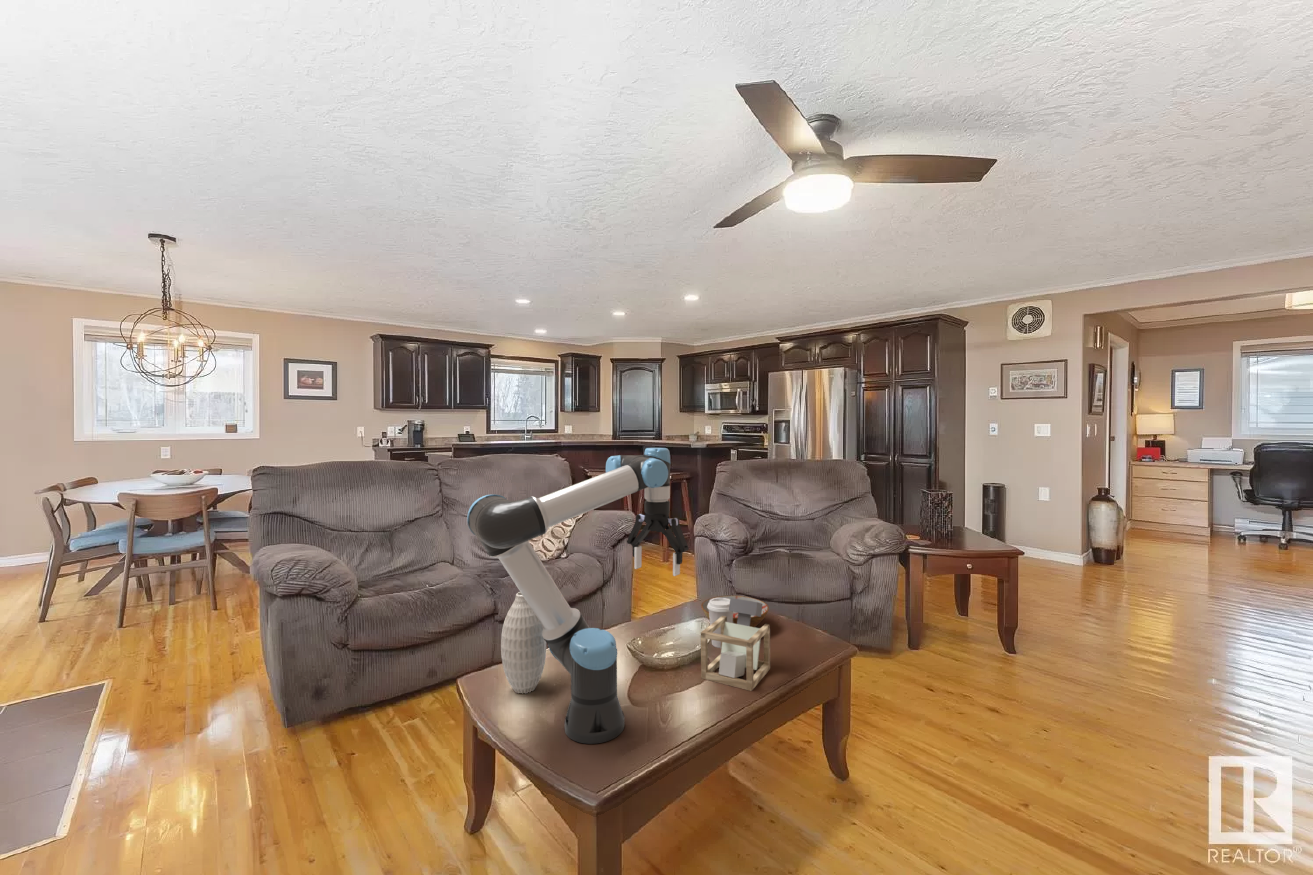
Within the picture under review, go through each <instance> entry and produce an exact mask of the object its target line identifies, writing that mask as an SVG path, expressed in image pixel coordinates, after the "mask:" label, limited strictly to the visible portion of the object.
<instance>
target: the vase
mask: <svg viewBox="0 0 1313 875" xmlns="http://www.w3.org/2000/svg"><path fill="white" fill-rule="evenodd" d="M543 628H544V627H543V626H542V624H541V623H540V621H539V620H538V618H537V617H536V615H535V613H534V612H533V610H532V609H531V607H530V606H529V604H528V603H527V601H526V600H525V598H524V597H523V595H522V594H521V592H520V591H518V592H517V593H516V594H515V598H514V601H513V602H512V604H511V605H510V608H509V609H508V611H507V614H506V616H505V619H504V621H503V625H502V629H501V634H500V635H501V636H500V637H501V638H500V651H501V652H500V654H501V655H500V656H501V663H502V668H503V672H504V674H505V678H506V680H507V682H508V684H509V686H511V688H512V690H513V691H514V693H516V694H519V693H522V694H523V693H525V694H529V693H531V691H532V692H533V691H534V690H535V689H536V688H537V686H538V684H539V682H540V680H541V678H542V675H543V672H544V669H545V665H546V656H547V643H546V641H545V640H544V638H543V636H542V631H543ZM528 692H529V693H528ZM522 694H521V695H522Z"/></svg>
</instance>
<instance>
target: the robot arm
mask: <svg viewBox="0 0 1313 875" xmlns="http://www.w3.org/2000/svg"><path fill="white" fill-rule="evenodd" d="M671 463H672V462H671V454H670V450H669V449H668V448H666V447H646V448H645V450H644V454H640V455H638V454H637V455H636V454H635V455H631V454H630V455H627V454H626V455H625V454H624V455H622V454H621V455H620V454H619V455H611V456H610V457H607V460H606V462H605V472H604V473H602V474H601V473H600V474H599V475H596V476H593V477H591V478H589V479H585V480H582V481H581V482H577V483H575V484H572V485H570V486H567V487H564V488H561V489H559V490H556V491H553V492H550V493H548V494H546V495H543V496H540V497H535V496H533V495H532V496H529V497H525V498H522V499H518V500H509V499H507V498H506V497H504V496H503V495H501V494H486V495H483V496H481V497H479V498H477V499H476V500H474V502H472V504H471V505H470V507H469V509H468V512H467V515H466V516H467V518H466V523H467V527H468V529H469V531H470V532H471V534H473V535H474V536H475V537H476V538H477V540H478V541H479V543H480V544H481V546H482V547H483V549H484V550H485V552H486V553H487V556H489V557H490V558H494V559H498V560H499V561H500V563H501V565H502V566H503V568H504V569H505V571H506V572H507V574H508V576H510V578H511V579H512V582H513V583H514V584H515V586H516V587H517V589H518V590H519V591H518V592H521V594H522V595H523V597H524V598H525V600H526V601H527V603H528V604H529V606H530V607H531V609H532V610H533V612H534V613H535V615H536V617H537V618H538V620H539V621H540V623H541V624H542V626H543V627H544V628H543V631H542V636H543V638H544V640H545V641H546V645H547V646H548V649H549V651H550V653H551V655H552V656H553V657H554V658H555V660H557V661H558V662H559V664H560V665H562V667H563V668H564V669H565V670H566V671H567V672H568V673H569V675H570V694H571V695H570V696H571V697H570V701H569V705H568V708H567V711H566V714H565V718H564V733H565V734H566V736H567V738H569V739H570V740H572V741H574V742H577V743H581V744H585V745H586V744H588V745H593V744H595V745H596V744H602V743H606V742H608V741H609V742H610V741H611V740H613V739H615V738H617V737H618V736H620V735H621V733H622V732H623V731H624V729H625V714H624V711H623V710H622V706H621V703H620V699H619V697H618V648H617V641H616V638H615V636H614V634H612V633H611V632H609V631H608V630H606V629H601V628H597V627H590V626H589V624H588V623H587V620H585V617H584V616H583V615H582V613H581V612H580V610H579V609H577V608H576V607H571V606H570V605H569V603H568V602H567V600H566V599H565V597H564V594H562V592H561V590H560V589H559V587H558V585H557V583H555V581H554V579H553V578H552V576H551V574H550V573H549V571H548V570H547V568H546V567H545V565H544V563H543V562H542V560H541V559H540V557H539V556H538V553H537V551H536V550H535V548H534V547H533V546H532V544H531V543H530V541H531V540H533V539H536V538H538V537H541V536H543V535H546V534H547V532H548V530H549V528H552V527H554V526H556V525H559V524H561V523H563V522H566V521H568V520H571V519H574V518H576V517H578V516H581V515H582V514H585V513H588V512H590V511H594V510H595V509H598V508H600V507H603V506H605V505H608V504H610V503H612V502H615V501H617V500H620V499H622V498H624V497H627V496H630V495H631V494H634V493H637V492H639V491H642V490H644V499H645V501H644V506H643V507H644V514H643V513H639V514H636V515H635V522H634V524H633V526H632V527H631V531H630V533H629V535H628V538H627V540H626V544H627V545H631V548H632V557H633V558H634V559H633V560H634V566H633V567H634V569H635V570H638V569H640V568H642V563H643V562H642V559H643V558H642V553H643V552H642V551H643V550H642V548H643V547H642V545H641V543H642V542H643V541H644V539H645V538H646V537H647V536H648V535H649V533H650V532H656V533H661V534H662V535H664V536H665V539H667V541H668V543H669V544H670V546H671V547H672V549H673V551H674V552H673V553H672V576H673V577H676V576H679V575H681V564H683V553H685V552H687V551H689V548H690V547H689V545H688V543H687V540H686V539H685V535H684V533H683V530H682V528H681V526H680V519H679V517H674V518H671V517H670V512H671V511H670V510H671V502H670V499H671V497H670V496H671ZM643 523H645V525H644V527H643V528H642V525H643ZM669 525H670V526H671V527H670V526H669ZM641 528H642V530H641ZM640 530H641V531H640Z"/></svg>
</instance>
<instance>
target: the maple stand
mask: <svg viewBox="0 0 1313 875" xmlns="http://www.w3.org/2000/svg"><path fill="white" fill-rule="evenodd" d="M725 622H727V616H721V617H720V618H719V619H718V620H716V621H715V622H714V623H712V624H711V625H710V624H709V626H707V627H706V628H704V629H703V630H702V631H701V632H700V671H701V672H700V678H701V679H702V680H706V681H711V682H715V683H719V684H721V685H727V686H729V687H730V686H731V687H735V688H739V689H741V690H742V689H743V690H745V691H749V692H752V691H753V690H754V689H755V688H756V686H758V684H759V683H760V682H761V680H762V679H763V678H764V677H765V675H767V673H768V672H769V671H770V670H771V625H770V624H768V623H765V624H764V625H762V626H761V627H759V628H760V629H759V630H758V631H757V632H756V633H755V634H754V635H753V636H752V637H751V638H750V639H749V640H745V639H741V638H736V637H731V636H726V635H723V634H724V627H725ZM720 626H721V634H716V633H713V632H714V631H715V630H716V629H718V628H719V627H720ZM762 638H763V660H760V659H758V666H757V670H756V672H755V673H754V669H753V646H754V645H755V644H756V643H757V642H758V641H759V640H760V639H761V640H762ZM708 640H711V641H712V640H716V641H720V642H721V648H720V650H721V649H722V642H725V643H730V644H734V645H739V646H744V647H746V667H745V671H746V673H745V674H746V679H743V678H739V677H736V678H732V677H728V676H724V675H720V674H719V672H715V671H716V670H717V669H718V668H719V666H720V656H721V653H720V654H719V655H718V656H717V657H716V658H715V659H713V661H711V662H710V663H709V664H708V662H709V658H708V656H709V655H708V653H709V652H708V650H709V649H708V648H709V647H708V646H709V645H708V644H709V643H708Z"/></svg>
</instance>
